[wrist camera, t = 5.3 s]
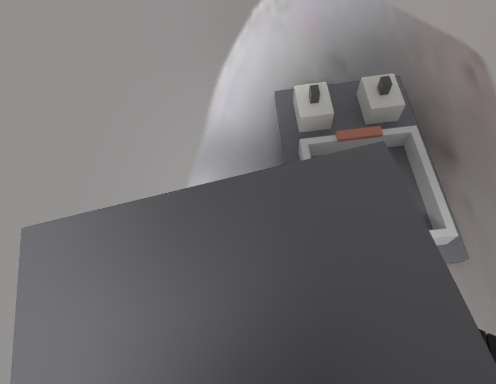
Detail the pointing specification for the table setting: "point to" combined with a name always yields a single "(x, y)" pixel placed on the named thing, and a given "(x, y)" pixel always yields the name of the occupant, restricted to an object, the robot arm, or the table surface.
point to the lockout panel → (369, 140)
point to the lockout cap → (248, 286)
